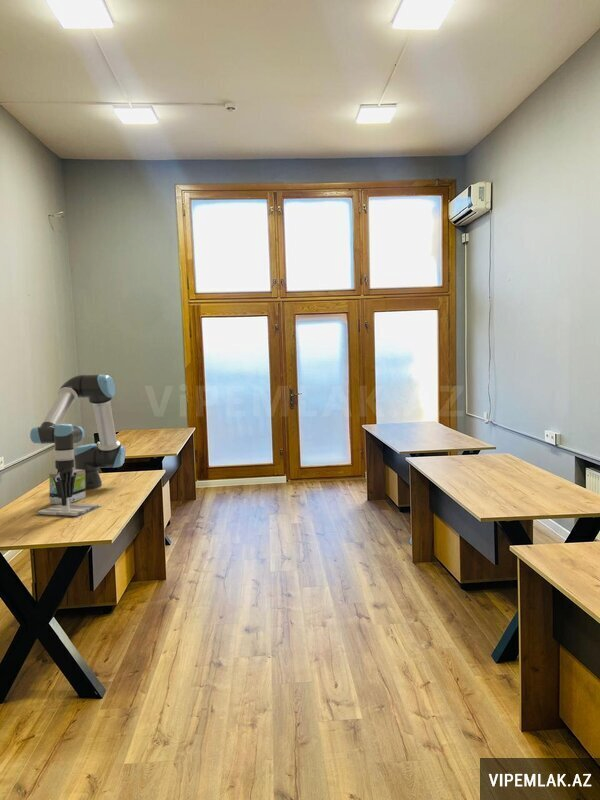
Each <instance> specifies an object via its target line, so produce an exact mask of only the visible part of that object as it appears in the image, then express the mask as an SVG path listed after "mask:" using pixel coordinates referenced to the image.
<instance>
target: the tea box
mask: <svg viewBox="0 0 600 800" xmlns="http://www.w3.org/2000/svg"><path fill="white" fill-rule="evenodd" d="M72 470H73V472H74V473H77V474H76V477H75V484H74V492H73V495H72V497H70V503H74V502H77V501H80V500H82V499H85V498H86V489H85V470H79V469H75V468H72ZM57 472H58V471H56V472H53V473H49V504H53V505H56V504H59V503H62V499H61V498H58V495H57V490H56V486H55V482H54V480H53V478H54V477H56V476H57Z"/></svg>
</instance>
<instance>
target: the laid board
mask: <svg viewBox="0 0 600 800" xmlns="http://www.w3.org/2000/svg"><path fill="white" fill-rule="evenodd" d="M98 506H99V504H95V503H94V504H93V503H74V502H71V503H70V509H87V512H89V511H91V510H93V509H95V508H98ZM50 507H51V508H62V503H59V504H53V505H52V506H50ZM98 509H99V508H98ZM93 511H94V510H93ZM91 512H92V511H91ZM89 513H90V512H89Z"/></svg>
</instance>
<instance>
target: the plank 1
mask: <svg viewBox="0 0 600 800" xmlns="http://www.w3.org/2000/svg"><path fill="white" fill-rule="evenodd" d="M59 511H62V508H51V506H49V507H47V508H43V509H40V510H37V513H36V514H48V515H57V512H59Z"/></svg>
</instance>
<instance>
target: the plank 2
mask: <svg viewBox="0 0 600 800" xmlns="http://www.w3.org/2000/svg"><path fill="white" fill-rule="evenodd" d="M86 512H87V509H70V512H69V513H62V511H59V512H57V515H70V516H77V515H80V514H83V513H86Z"/></svg>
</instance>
